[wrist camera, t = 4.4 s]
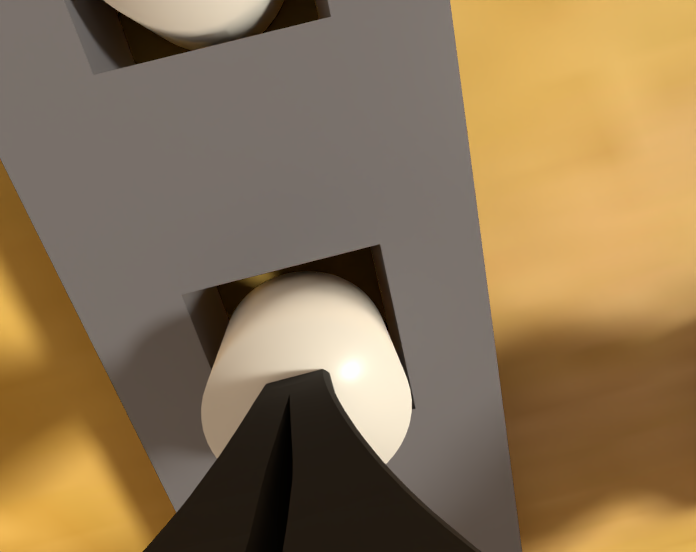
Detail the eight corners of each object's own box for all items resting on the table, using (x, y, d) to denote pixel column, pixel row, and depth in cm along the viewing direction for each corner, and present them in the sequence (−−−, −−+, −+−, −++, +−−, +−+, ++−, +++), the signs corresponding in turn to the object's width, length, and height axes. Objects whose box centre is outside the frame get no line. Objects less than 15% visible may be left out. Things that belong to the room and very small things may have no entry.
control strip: (356, -340, 10) (379, -535, 7) (500, 571, 19) (534, 648, 17) (-99, -234, 9) (-272, -389, 7) (281, 630, 19) (278, 717, 16)
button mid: (368, 252, 11) (389, 296, 9) (399, 392, 13) (427, 468, 10) (201, 294, 11) (168, 352, 8) (253, 430, 13) (239, 517, 10)
